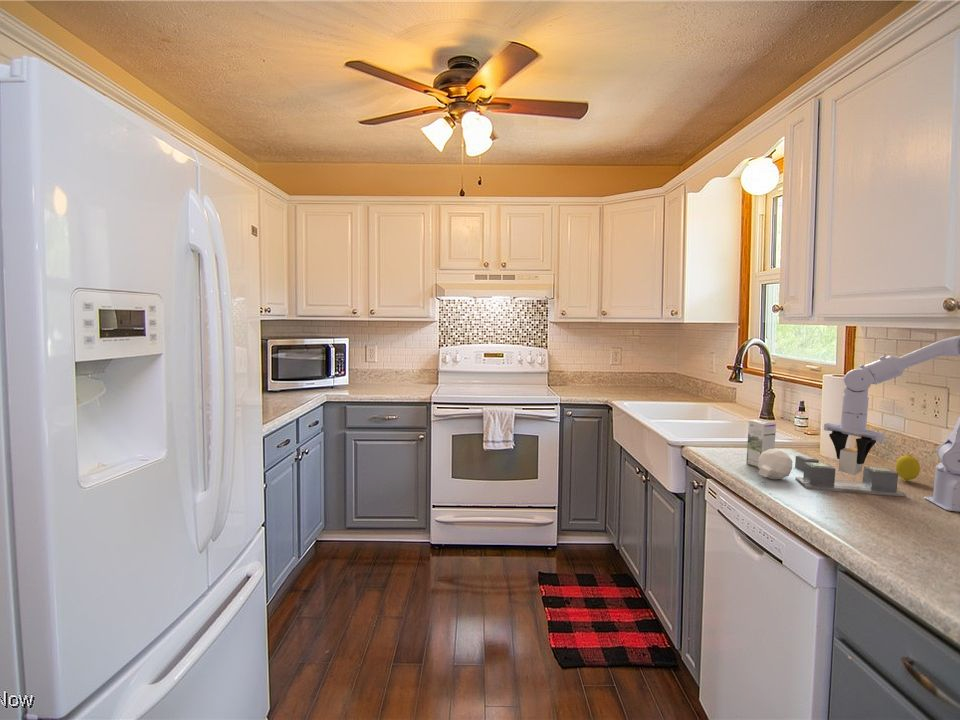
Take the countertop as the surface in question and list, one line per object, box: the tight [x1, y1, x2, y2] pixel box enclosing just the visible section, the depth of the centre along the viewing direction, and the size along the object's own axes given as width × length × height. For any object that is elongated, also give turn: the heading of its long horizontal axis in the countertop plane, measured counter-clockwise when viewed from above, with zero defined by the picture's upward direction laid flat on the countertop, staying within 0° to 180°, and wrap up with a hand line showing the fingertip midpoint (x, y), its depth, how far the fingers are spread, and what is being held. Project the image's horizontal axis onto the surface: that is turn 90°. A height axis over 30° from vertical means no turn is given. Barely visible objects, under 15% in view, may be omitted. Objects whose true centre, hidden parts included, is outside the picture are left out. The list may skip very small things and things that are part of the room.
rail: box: [794, 462, 907, 498], centre depth 146 cm, size 8×24×6 cm, turn 77°
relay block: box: [794, 455, 820, 473], centre depth 163 cm, size 5×4×4 cm
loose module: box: [838, 446, 863, 476], centre depth 146 cm, size 4×5×6 cm
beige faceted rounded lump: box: [757, 448, 793, 480], centre depth 152 cm, size 9×9×12 cm
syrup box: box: [746, 418, 777, 468], centre depth 166 cm, size 6×6×14 cm
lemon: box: [895, 454, 921, 482], centre depth 153 cm, size 6×6×8 cm
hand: (850, 461), depth 146 cm, fingers closed on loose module, 5 cm apart
